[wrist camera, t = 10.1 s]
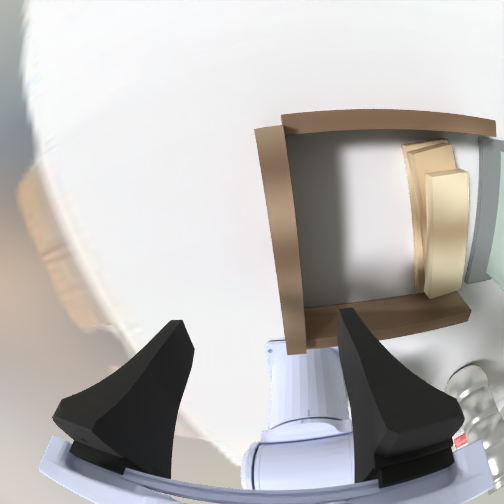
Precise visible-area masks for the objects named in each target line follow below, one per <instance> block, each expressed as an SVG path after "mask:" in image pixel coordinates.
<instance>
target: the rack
mask: <svg viewBox="0 0 504 504" xmlns="http://www.w3.org/2000/svg"><path fill="white" fill-rule="evenodd" d="M281 121H282V125H280V126H272V127H265V128H258V129H254V131H255V137H256V143H257V149H258V155H259V161H260V167H261V173H262V179H263V186H264V192H265V198H266V205H267V211H268V218H269V225H270V231H271V238H272V245H273V252H274V259H275V266H276V273H277V280H278V288H279V295H280V303H281V310H282V318H283V326H284V333H285V341H286V350H287V355H298V354H307V350H310V349H320V348H329V347H337V346H338V343H337V337H338V312H339V309H342V308H350V307H352V308H354V310H355V311H356V313H357V314H358V315H359V317H360V318H361V320H362V321H363V322H364V324H365V325H366V326H367V327H368V329H369V330H370V331H371V332H372V334H373V335H374V336H375V337H376V338H377V340H378V341H379V340H385V339H391V338H396V337H402V336H407V335H412V334H416V333H421V332H426V331H430V330H435V329H439V328H443V327H447V326H451V325H455V324H459V323H462V322H466V321H468V319H469V316H470V313H471V310H470V308H469V307H468V306H467V304H466V303H465V302H464V300H463V299H462V298H461V296H460V295H459V294H458V293H457V291H455V292H451V293H448V294H445V295H442V296H438V297H435V298H432V299H429V298H428V296H427V295H426V293H425V292H422V293H417V294H411V295H405V296H398V297H392V298H385V299H378V300H371V301H364V302H356V303H349V304H340V305H332V306H323V307H313V308H304V303H303V290H302V278H301V267H300V256H299V246H298V236H297V227H296V218H295V209H294V201H293V193H292V185H291V177H290V170H289V162H288V155H287V148H286V142H285V135H293V134H303V133H313V132H326V131H342V130H366V129H411V130H434V131H449V132H460V133H470V134H478V135H486V136H493V137H496V122H495V120H489V119H484V118H478V117H472V116H465V115H458V114H450V113H441V112H430V111H416V110H394V109H352V110H330V111H315V112H303V113H293V114H284V115H281Z"/></svg>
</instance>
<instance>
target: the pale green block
mask: <svg viewBox="0 0 504 504" xmlns="http://www.w3.org/2000/svg"><path fill="white" fill-rule="evenodd" d="M486 273H487V274H488V275H489V276H490V277H491V278H492V279H493V280H494V281H495V282H496V283H497V284H498V285H499V286H500V287H501V288H502V290H503V291H504V152H501V172H500V190H499V201H498V210H497V218H496V225H495V232H494V238H493V243H492V248H491V253H490V258H489V262H488V267H487V271H486Z"/></svg>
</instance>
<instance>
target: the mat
mask: <svg viewBox="0 0 504 504" xmlns="http://www.w3.org/2000/svg"><path fill="white" fill-rule="evenodd" d="M501 152H504V141H502V140H495V139H488V138H480V137H479V189H478V203H477V213H476V221H475V229H474V236H473V242H472V248H471V254H470V259H469V264H468V268H467V273H466V277H465V282H466V283H467V284H472V283H476V282H481V281H485V280H489V279H492V278H491V277H490V276H489V275H488V274H487V273H486V271H487V267H488V262H489V258H490V253H491V248H492V243H493V238H494V232H495V225H496V218H497V210H498V201H499V190H500V172H501Z"/></svg>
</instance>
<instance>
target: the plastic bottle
mask: <svg viewBox="0 0 504 504" xmlns="http://www.w3.org/2000/svg"><path fill="white" fill-rule="evenodd" d="M446 393H447V394H448V395H450V396H452V397H454V398H456V399H457V401H458V403H459V405H460V406H461V409H462V411H463V414H464V417H465V420H464V423H463V425H462V426H463V428H464V432H465V433H466V439H467V443H468V444H471V443H473V442H475V441H477V440H479V439H482V442H483V445H484V448H485V451H486V455H487V458H488V462H489V466H490V470H491V474H492V478H493V482H494V487H493V488H491V489H490V490H488V494H489V495H490V494H491V493H493V492H495V491H497V490H498V489H500V488H501V487H503V486H504V421H503V419H502V416H501V414H500V413H499V412H498V411H499V410H498V409H497V407H496V404H495V401H494V399H493V396H492V393H491V390H490V388H489V382H488V379H487V376H486V374H485V372H484V371H483V370H482V369H481V367H479V366H476V365H469V366H467V367H465V368H463V369H461V370H459V371H458V372H457V373H456V374H454V375H453V376H452V377H451V379H450V380H449V381H448V384H447V388H446Z"/></svg>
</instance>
